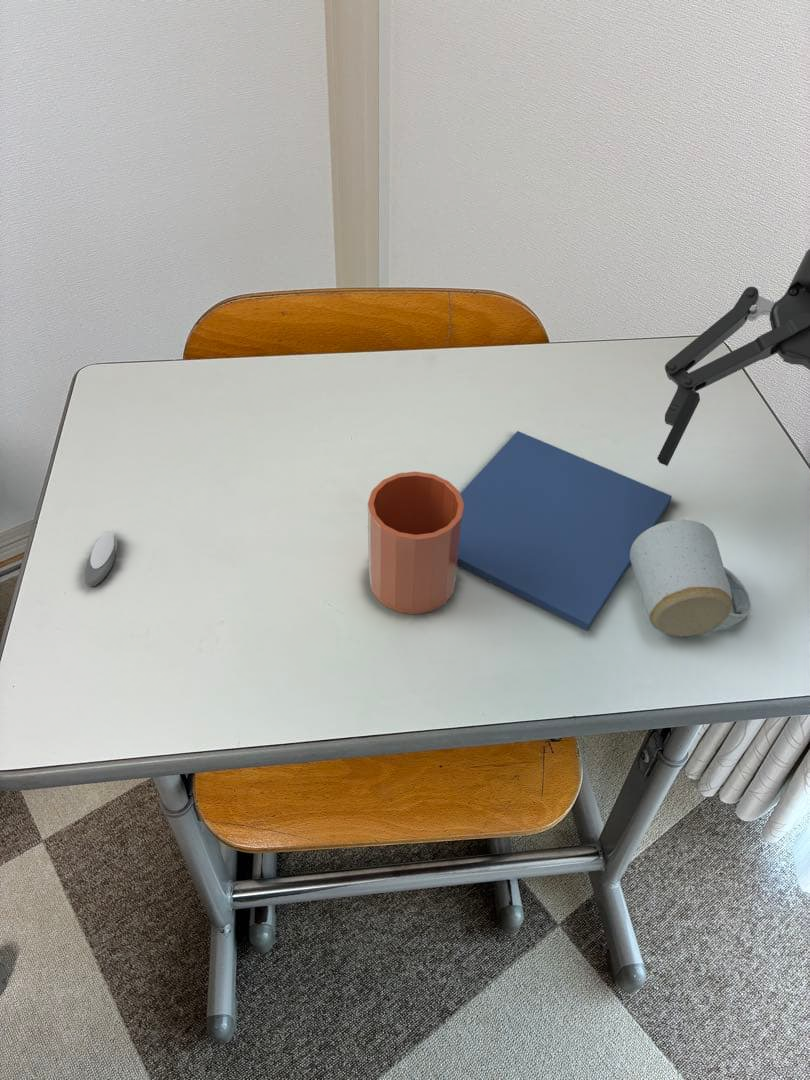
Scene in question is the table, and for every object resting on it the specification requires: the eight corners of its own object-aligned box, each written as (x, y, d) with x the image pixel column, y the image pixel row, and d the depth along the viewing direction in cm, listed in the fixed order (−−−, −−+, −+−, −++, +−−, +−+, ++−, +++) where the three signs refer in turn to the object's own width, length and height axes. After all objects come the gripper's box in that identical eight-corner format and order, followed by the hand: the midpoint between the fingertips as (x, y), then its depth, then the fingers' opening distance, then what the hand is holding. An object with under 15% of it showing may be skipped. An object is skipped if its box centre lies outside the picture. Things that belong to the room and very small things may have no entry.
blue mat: (669, 502, 82) (672, 495, 82) (587, 631, 71) (589, 624, 70) (516, 437, 89) (517, 430, 88) (418, 545, 77) (418, 538, 77)
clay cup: (471, 572, 75) (480, 495, 68) (425, 628, 71) (430, 552, 63) (401, 536, 78) (403, 459, 71) (352, 588, 74) (349, 511, 66)
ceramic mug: (640, 643, 70) (664, 587, 64) (620, 572, 75) (640, 515, 70) (758, 642, 70) (792, 587, 65) (729, 572, 76) (758, 516, 70)
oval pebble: (104, 590, 73) (101, 583, 72) (78, 587, 73) (75, 580, 72) (126, 538, 77) (123, 531, 76) (101, 536, 77) (98, 529, 76)
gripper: (1005, 323, 65) (881, 557, 68) (710, 236, 74) (609, 445, 77) (1038, 291, 58) (898, 553, 61) (708, 200, 67) (597, 430, 70)
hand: (736, 493), depth 69 cm, fingers open, 13 cm apart
